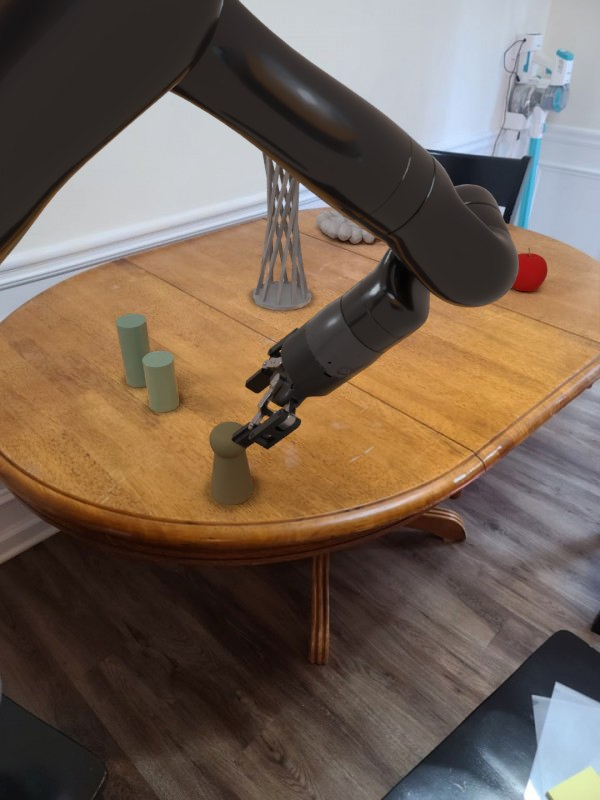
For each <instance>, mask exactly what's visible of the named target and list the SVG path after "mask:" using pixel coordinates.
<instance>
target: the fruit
mask: <svg viewBox="0 0 600 800" xmlns="http://www.w3.org/2000/svg"><path fill="white" fill-rule="evenodd" d="M527 250H528V252H526V253H518V258H519V269H518V274H517V277H516V280H515V282H514V284H513V286H512V287H511V289H514V290H517V291H519V292H529V293H531V292H534V291H536V290H537V289H538V288H539V287H541V286H542V284H543V283H544V282H545V281H546V278H547V276H548V271H549V270H548V264H547V261H546V259H545V258H544V257H543V256H541V255H539V254H537V253H532V252H531V247H528V248H527Z"/></svg>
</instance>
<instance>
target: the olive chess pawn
mask: <svg viewBox="0 0 600 800" xmlns="http://www.w3.org/2000/svg"><path fill="white" fill-rule="evenodd" d="M243 426H244V425H242V424H241V423H239V422H237V421H224V422H220V423H218V424H216V425H215V426H214V427H213V428H212V429H211V431H210V433H209V437H208V439H209V442H208V443H209V447H210V449H211V451H212V452H213V461H212V474H211V485H210V494H211V496H212V498H213V499H214V500H215V501H216V502H218V503H219V504H222V505H227V506H234V505H235V506H236V505H239V504H243V503H245V502H246V501H248V500H249V499H250V498H251V497H252V496H253V493H254V483H253V479H252V474H251V473H252V472H251V469H250V464H249V460H248V455H247V449H248V448H243V447H241V446H239V445H238V444H236V443H234V442H233V441H232V440H231V439H232V435H233V433H235V432H236V431H237V430H239V429H240V428H242V427H243Z"/></svg>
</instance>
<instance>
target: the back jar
mask: <svg viewBox="0 0 600 800" xmlns="http://www.w3.org/2000/svg"><path fill="white" fill-rule="evenodd" d="M115 327H116V333H117V337H118V344H119V350H120V355H121V360H122V366H123V370H124V376H125V381H126V384H127V385H128V386H130V387H132V388H137V389H138V388H146V381H145V375H144V368H143V362H142V359H143V357H144V356H145V355H146V354H148V353H150V352H152V347H151V342H150V336H149V328H148V322H147V317H146V316H145V315H143V314H140V313H127V314H123V315H120V316H118V317H117V318H116V320H115Z"/></svg>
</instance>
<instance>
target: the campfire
mask: <svg viewBox="0 0 600 800" xmlns="http://www.w3.org/2000/svg"><path fill="white" fill-rule="evenodd" d="M315 225H316V227H317V228H318V229H319V230H320V231H321V233H323V234H325V235H326V236H327V237H329V238H331V239H332V240H334V239H339V240H341V241H342V242H344V241H347V240H348V241H349V242H350V243H351V244H353V245H357V244H359V243H360V242H361V241H364V243H366V244H371V243H373V242H374V241H375V239H376V240H379V239H378V238H376V237H375V236H373V235H371V234H370V233H368V232H367V231H365V230H364V229H362V228H361V227H360V226H358V225H357V224H355V223H354V222H352V221H351V220H349V219H348V218H346V217H345V216H343V215H342V214H340V213H339V212H337V211H336V210H335V209H333V210H331V211H329V210H323V211H321V213H319V214H318V215H317V216H316V217H315Z"/></svg>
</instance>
